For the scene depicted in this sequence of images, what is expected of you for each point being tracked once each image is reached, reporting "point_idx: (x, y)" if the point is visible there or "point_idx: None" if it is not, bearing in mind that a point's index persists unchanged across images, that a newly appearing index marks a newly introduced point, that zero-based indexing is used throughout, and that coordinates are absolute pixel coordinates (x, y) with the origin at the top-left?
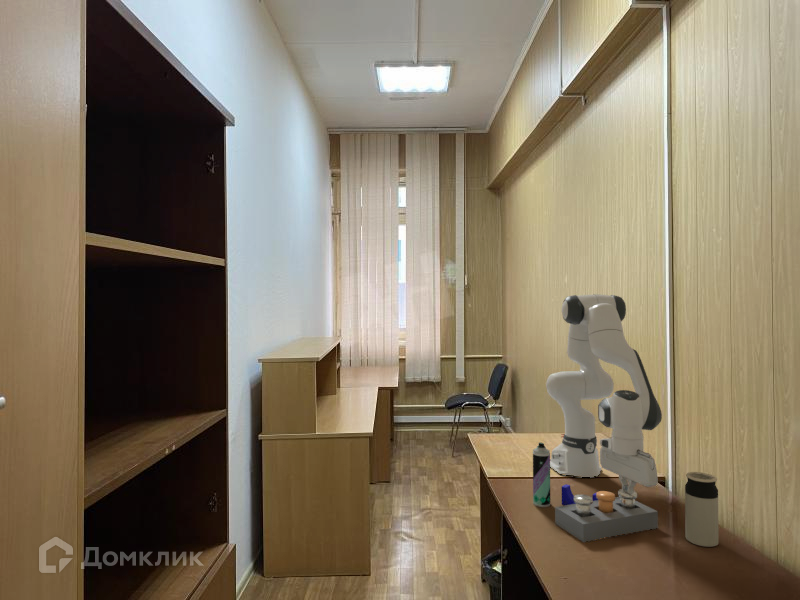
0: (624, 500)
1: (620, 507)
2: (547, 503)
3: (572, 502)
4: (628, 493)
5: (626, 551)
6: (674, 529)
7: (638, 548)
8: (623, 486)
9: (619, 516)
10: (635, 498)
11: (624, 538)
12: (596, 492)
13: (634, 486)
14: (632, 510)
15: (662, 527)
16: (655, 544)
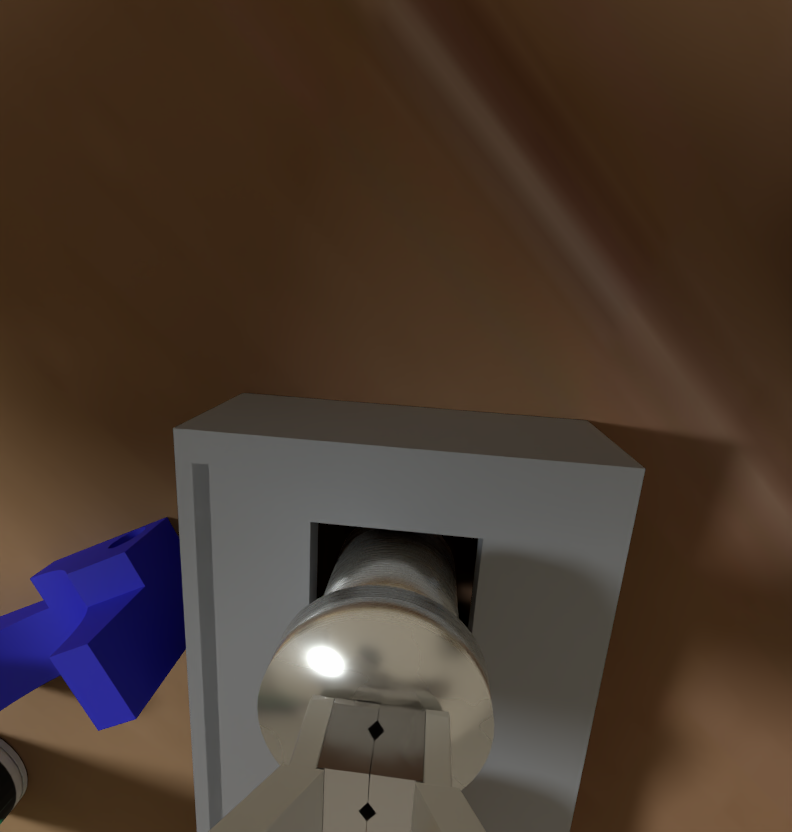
0: None
1: None
2: (8, 791)
3: (40, 682)
4: None
5: (703, 827)
6: (669, 313)
7: (718, 754)
8: (325, 826)
9: (544, 829)
10: (486, 671)
11: None
12: (57, 665)
13: (473, 812)
14: (502, 657)
15: (592, 371)
16: (747, 636)
